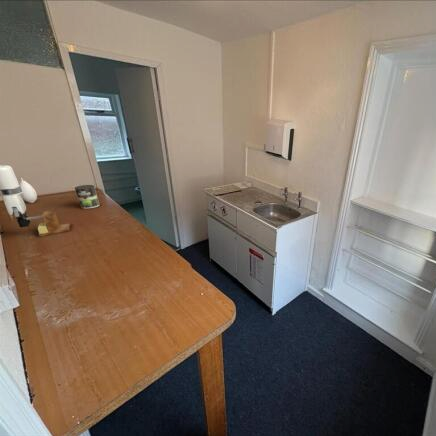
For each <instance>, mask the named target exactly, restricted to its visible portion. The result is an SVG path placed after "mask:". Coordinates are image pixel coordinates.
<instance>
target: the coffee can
mask: <svg viewBox="0 0 436 436" xmlns="http://www.w3.org/2000/svg"><path fill="white" fill-rule="evenodd" d="M74 190H75V193H76V196H77V199H78V202H79V205H80V208H81V209H83V210H84V209H85V210H86V209H94V208H97V207H100V201H99V199H98V198H99V197H98V195H97V191H96V188H95V185H93V184H83V185H78V186H75V187H74Z"/></svg>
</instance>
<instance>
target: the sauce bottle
mask: <svg viewBox="0 0 436 436" xmlns="http://www.w3.org/2000/svg"><path fill="white" fill-rule="evenodd" d="M20 178H21V181H20V183H19V185H20V187H21V190H22V192H23V193H21V196H22V199H23V201H24V202H25V203H29V204H32V203H33V204H34V203H35V202H36V201H37V199H38V195H37V194H38V193H37V192H36V190H35V188H34V187H33V186H32V185H31V184H30V183H29V182H27V181H26V180H24V179H23V178H22V177H20Z"/></svg>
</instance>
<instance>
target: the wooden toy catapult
mask: <svg viewBox="0 0 436 436" xmlns="http://www.w3.org/2000/svg"><path fill="white" fill-rule="evenodd" d="M52 212H53V213H52ZM45 213H47V214H45ZM41 216H43V218H42V219H43V221H44V223H46V226H47V228H48V232H47V233H42V234H40V233H39V232H38V234H37V235H38V237H44V236H48V235H54V234H60V233H64V232H70V231H71V223H63V224H60V222H59V221H60V220H59V219H58V216H57V214H56V210H55V209H54V210H46V211H42V214H41Z"/></svg>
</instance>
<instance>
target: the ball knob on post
mask: <svg viewBox="0 0 436 436" xmlns="http://www.w3.org/2000/svg"><path fill="white" fill-rule="evenodd" d="M52 213H53V212H52ZM45 214H47V213H45ZM25 219H27V220H30V221H31V220H37V219H43V216H42V215H34V216H28V218H26V217H25Z"/></svg>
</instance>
